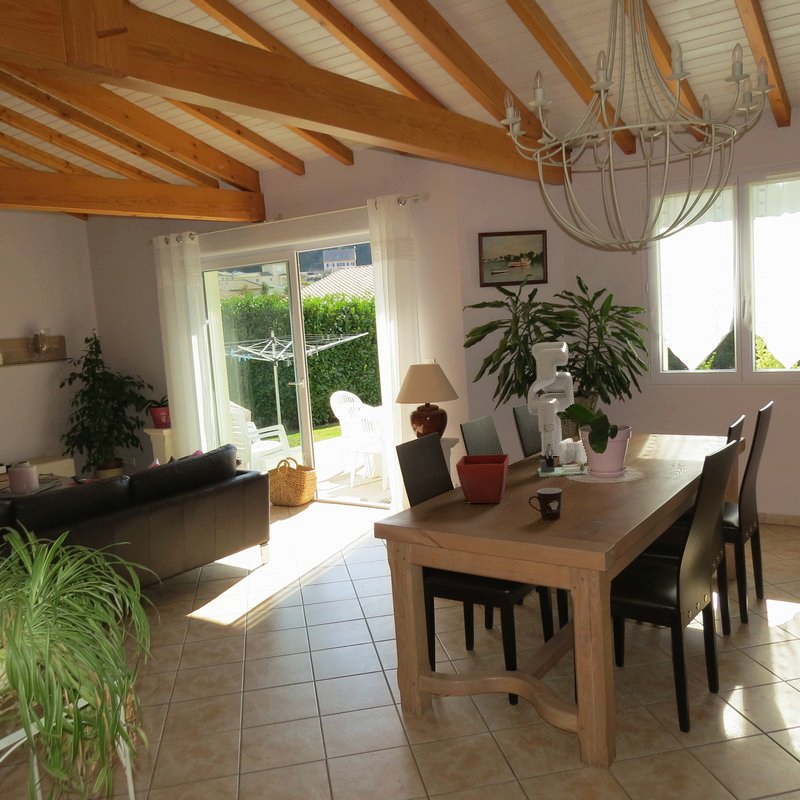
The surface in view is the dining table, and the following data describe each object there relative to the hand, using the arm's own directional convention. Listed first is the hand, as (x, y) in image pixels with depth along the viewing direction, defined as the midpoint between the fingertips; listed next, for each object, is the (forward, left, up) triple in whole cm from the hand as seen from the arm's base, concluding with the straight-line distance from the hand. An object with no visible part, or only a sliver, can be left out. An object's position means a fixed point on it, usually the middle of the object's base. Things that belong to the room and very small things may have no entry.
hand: (549, 464), depth 349 cm
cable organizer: (-18, +13, -4) cm, 23 cm away
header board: (0, +5, -4) cm, 6 cm away
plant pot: (+45, -29, -4) cm, 54 cm away
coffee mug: (+76, -7, -4) cm, 76 cm away
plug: (0, -1, -3) cm, 3 cm away
